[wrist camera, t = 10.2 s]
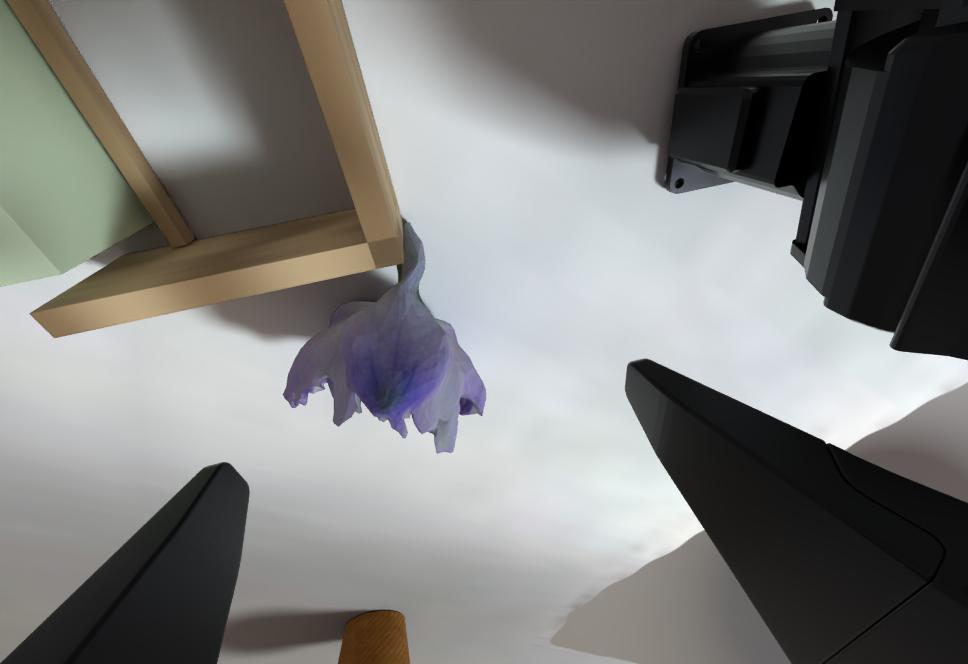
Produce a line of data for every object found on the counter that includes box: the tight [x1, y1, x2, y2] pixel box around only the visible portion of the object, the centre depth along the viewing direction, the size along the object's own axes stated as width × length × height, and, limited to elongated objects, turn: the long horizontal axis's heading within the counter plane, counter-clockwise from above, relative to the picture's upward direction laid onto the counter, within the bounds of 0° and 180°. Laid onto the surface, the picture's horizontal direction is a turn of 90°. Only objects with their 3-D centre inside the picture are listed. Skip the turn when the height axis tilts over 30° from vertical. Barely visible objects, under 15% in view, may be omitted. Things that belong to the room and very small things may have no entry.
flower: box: [283, 222, 486, 453], centre depth 17 cm, size 9×9×10 cm
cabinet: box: [6, 0, 404, 338], centre depth 11 cm, size 14×12×6 cm
